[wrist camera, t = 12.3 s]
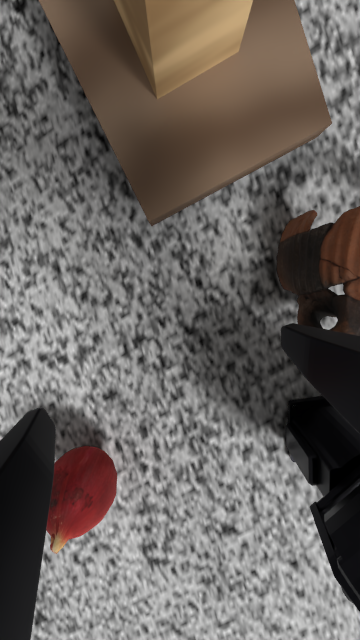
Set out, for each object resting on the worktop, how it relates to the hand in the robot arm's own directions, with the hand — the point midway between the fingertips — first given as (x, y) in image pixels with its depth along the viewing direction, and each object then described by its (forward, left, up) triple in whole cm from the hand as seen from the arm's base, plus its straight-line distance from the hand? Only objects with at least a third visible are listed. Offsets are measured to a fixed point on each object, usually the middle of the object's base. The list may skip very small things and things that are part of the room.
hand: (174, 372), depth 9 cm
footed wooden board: (-2, -16, -12) cm, 20 cm away
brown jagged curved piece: (-13, -2, -12) cm, 18 cm away
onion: (+10, +13, -12) cm, 20 cm away
